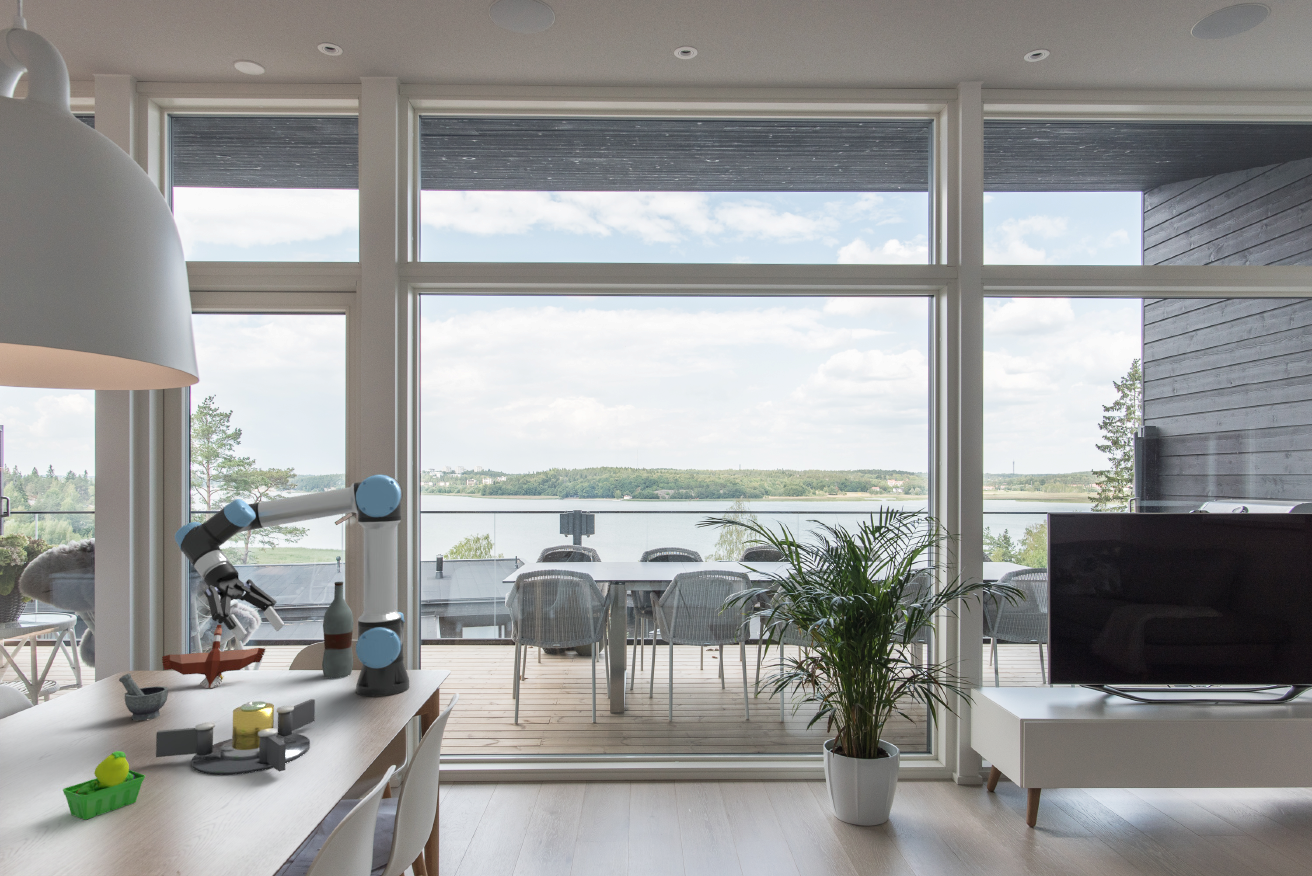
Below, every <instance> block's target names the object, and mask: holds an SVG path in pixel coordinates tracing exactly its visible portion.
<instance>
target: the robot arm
mask: <svg viewBox="0 0 1312 876" xmlns="http://www.w3.org/2000/svg"><path fill="white" fill-rule="evenodd" d="M402 501H403V488H402V485H401V484H400V483H399V481H398V480H397V479H395V478H394V477H392V476H389V475H386V474H373V475H370V476H369V477H367V478H365V479H363V481H358V482H353V483H352V484H351V485H350V487H349V486H348V487H344V488H343V487H342V488H337V489H331V490H327V491H326V490H325V491H320V492H315V493H307V494H301V495H297V496H295V495H294V496H289V497H285V498H284V497H283V498H279V499H278V498H277V499H272V500H267V501H260V502H255V503H249V504H248V503H247V502H246V501H244V500H242V498H235V499H234V500H232V501H231V502H230V503H227V504H226V505H225V506H224V507H223V508H221V509H220V510H218V512H216V513H214V515H212V516H211V517H210V518H208V519H207V520H206V521H204V522H203V523H201V522H200V521H192V522H189V523H187V524H184V525H183V526H181V527H180V528H179V529H178V530H177V531H176V532H175V534H174V541H175V542H176V544H177V545H178V547H179V549H180V551H181V552H182V553H183V554H184V556H185V557H186V558H187V559H188V561H189V563H190V564H191V565H192V567H194V569H195V570H196V572H197V573H198V574H199V575H200V577H201V578H202V579H203V580H204V583H205V584H206V586H207V589H206V590H205V591H204V595H205V597H206V598H207V601H208V602H207V603H208V607H209V610H210V614H211V615H210V616H211V618H212V621H213V622H217V623H218V624H219V625H222V624H223V623H224V625H225V626H226V627H227V629H228V630H229V631H231V633H232V634H233V635H234V638H236V640H237V641H238V642H241V641H243V639H244V638H245V637H246V636H247V634H248V632H247V631H246V629H245V628H244V627H243V625H242V624H241V622H240V621H239V620H238V618H237V617H236V616H235V614H234V613H232V614H231V601H234V600H240V601H241V602H243V601H244V602H246V603H248V604H251V605H252V606H254V607H255V608H257V609H259V610H261V611H264V612H263V615H264V616H265V618H266V619H267V621H268V622H269V623H270V624H271V626H272V628H273V629H274V630H275V631H276V632H279V631H280V630H281V629H282V628H283V627H284V626H285V623H284V621H283V619H282V618H281V617H280V615H279V613H278V612H277V611H276V609H275V608H274V606H276V605H277V600H276V599H274V597H272V596H270V595H269V594H268V593H266V591H264V590H262V589H261V588H260V587H259V586H257V585H256V584H255V583H254V582H253V581H252V579H247V580H246V581H242V580H240V579H239V571H237V569H236V568H235V566H234V565H233V564H232V563H231V561H230V559H229V558H228V557H227V555H226V554H225V553H224V552H223V550H222V549H221V548H220V547H221V546H222V545H223V544H225V543H226V542H227V541H228V540H230V539H232V537H234V536H235V535H237V534H238V533H242V532H248V531H254V530H259V529H262V528H269V527H274V526H275V527H276V526H280V525H286V524H292V523H297V522H298V523H299V522H304V521H308V520H314V519H320V518H328V517H332V516H339V515H345V514H350V513H355V514H357V523H358V524H359V525H360V526H361V527H362V529H363V612H362V614H361V615H360V616H359V617H358V618H357V641H356V643H355V654H356V657H357V659H358V660H359V661H360V662H361V663H362V666H361V670H360V673H359V676H358V679H357V681H356V685H355V686H356V687H355V693H356V694H357V695H359V696H363V697H384V696H391V695H395V694H397V695H398V694H399V693H403V692H405V691H407V690H408V689H409V688H410V678H409V675H408V672H407V668H406V665H405V663H404V661H405V660H404V654H405V653H404V651H405V648H404V646H405V645H404V641H405V637H404V636H405V635H404V634H405V630H404V629H405V621H406V620H405V616H404V613H403V612H401V611H397V608H396V604H397V603H396V600H397V599H396V596H397V595H396V594H397V593H396V578H397V577H396V570H397V569H396V566H397V565H396V563H397V562H396V528H397V526H398V525H399V524H400V523H401V521H402Z"/></svg>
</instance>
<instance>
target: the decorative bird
mask: <svg viewBox="0 0 1312 876" xmlns="http://www.w3.org/2000/svg"><path fill="white" fill-rule="evenodd" d="M222 634H223V628H222V624H216V628H215V630H214V633H213V641H212V646H211V650H210V651H209V652H193V653H184V654H183V653H181V654H166V655H163V656H161V663H162V667H163V670H164V671H168V670H173V671H175V672H177V673H179V674H181V675H183V676H184V675H203V676H205V677H204V678H203V680H202V681H200V684H199V685H201V686H202V687H203V688H205V689H206V690H207V689H209V688H210V689H213V688H215V687H216V686H217V687H218V686H219V685H220V684H221V683H222V682H223V681H222V680H223V679H224V678H225V675H222V673H227V672H231V671H232V672H233V671H241V670H243V669H244V668H247V666H249V665H251V664H253V663H261V661H262V658H263V657H264V655H265V653H266V648H265V647H264V648H262V647H254V648H248V649H236V650H235V649H233V650H232V649H231V650H230V649H229V650H221V639H222V638H221V637H222Z"/></svg>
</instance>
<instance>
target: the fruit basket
mask: <svg viewBox="0 0 1312 876" xmlns="http://www.w3.org/2000/svg"><path fill="white" fill-rule="evenodd" d="M126 757H127V755H126V753H125V752H124V751H120V750H117V751H114V752H111V754H109V755H108V756H107V757H106V758H104V759H103V760H102V761H101V762H100V763H98V765H97V766H96V767H95V769H94V772H93V774H94V776H95V777H96V778H93V779H89V780H87V781H83V782H80V783H77V784H75V785H70V786H68V787H64V788H63V789H62V791H63V795H64V796H65V799H66V802H67V804H68V805H67V806H68V808H69V812H70V815H71V816H75V817H76V818H79V819H83V820H90V819H92V818H95V817H97V816H101V815H103V814H106V813H109V812H111V811H115V810H118V809H121V808H123V807H125V806H129V805H132V804H134V803H136V802H137V799H138V796H139V794H140V790H141V787H142V784H143V782H144V780H145V778H146V774H142V773H139V772H136V771H134V770H130V765H129V762H128V761H127V759H126Z"/></svg>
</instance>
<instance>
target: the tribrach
mask: <svg viewBox="0 0 1312 876" xmlns="http://www.w3.org/2000/svg"><path fill="white" fill-rule="evenodd" d="M274 715H275V705H274V704H273V703H270V702H266V701H259V700H258V701H252V702H251V701H249V702H246V703H243V704H242V705H241V706H237V707H235V708H234V709H233V710H232V736H231V737H232V738H229V739H226V740H223V741H219V742H217V743H213V752H212V753H211V754H208V755H202V756H198V755H196V754H194V756H193V757H192V759H191V767H192V769H193V770H194V771H196V772H198V773H201V774H205V775H214V776H220V775H221V776H230V775H233V776H234V775H243V774H249V772H250V773H256V772H261V771H265V769H266V770H268V769H269V768H270V769H273V768H274V767H273V766H271V765H270V764H269V763H268V762H267V763H261V762H259V741H260V736H258V732H259V731H261V730H264V729H269V728H274V727H275V726H274V718H275V717H274ZM276 737H277V738H278V739H279V740H281V741H282V742H284V743H285V744H286V755H285V763H286V764H288V763H291V762H292V761H295V760H297V759H299V758H301V757H302V756H304V755H305V754H307V752H309V750H310V746H311V743H310V742H311V741H310V738H309V737H307V736H305V735H304V734H299V733H295V732H292V734H291V735H288V736H281V735H278V731H277V734H276ZM303 754H304V755H303ZM300 756H301V757H300ZM290 761H291V762H290ZM287 762H288V763H287ZM270 769H269V770H270ZM255 771H256V772H255ZM242 773H243V774H242Z"/></svg>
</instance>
